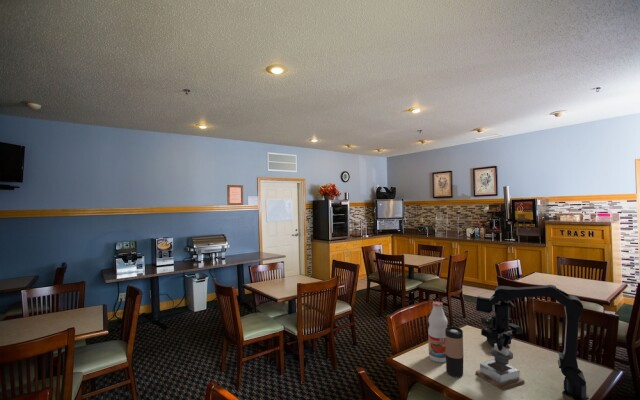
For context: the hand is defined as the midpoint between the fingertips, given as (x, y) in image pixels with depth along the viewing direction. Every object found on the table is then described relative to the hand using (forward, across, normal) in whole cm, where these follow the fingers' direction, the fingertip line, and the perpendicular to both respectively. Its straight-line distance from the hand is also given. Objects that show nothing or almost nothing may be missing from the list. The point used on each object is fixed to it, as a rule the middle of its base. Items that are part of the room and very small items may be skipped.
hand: (501, 350), depth 146 cm
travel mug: (+13, +16, -11) cm, 24 cm away
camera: (+13, -26, -24) cm, 38 cm away
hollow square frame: (+11, +1, 0) cm, 11 cm away
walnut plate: (+12, +1, 0) cm, 12 cm away
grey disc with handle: (+5, 0, 0) cm, 5 cm away
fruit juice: (+13, +14, -25) cm, 31 cm away
